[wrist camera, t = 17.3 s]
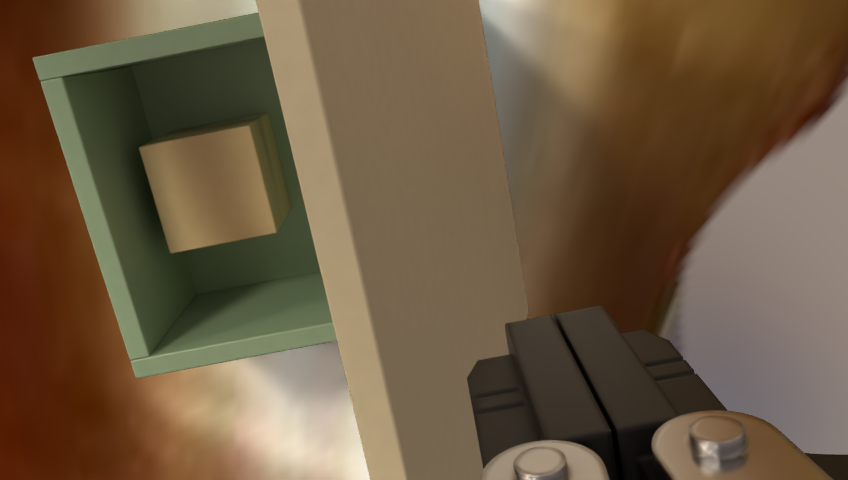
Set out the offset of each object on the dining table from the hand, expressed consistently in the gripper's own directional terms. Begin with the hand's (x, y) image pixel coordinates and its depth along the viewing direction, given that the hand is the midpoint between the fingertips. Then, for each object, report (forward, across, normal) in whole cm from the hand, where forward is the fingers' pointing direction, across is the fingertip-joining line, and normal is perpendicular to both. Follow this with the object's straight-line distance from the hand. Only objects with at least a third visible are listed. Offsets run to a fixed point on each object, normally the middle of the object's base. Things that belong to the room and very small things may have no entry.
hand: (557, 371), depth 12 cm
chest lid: (+11, +1, 0) cm, 11 cm away
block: (+28, +11, 0) cm, 30 cm away
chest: (+29, +7, 0) cm, 30 cm away
